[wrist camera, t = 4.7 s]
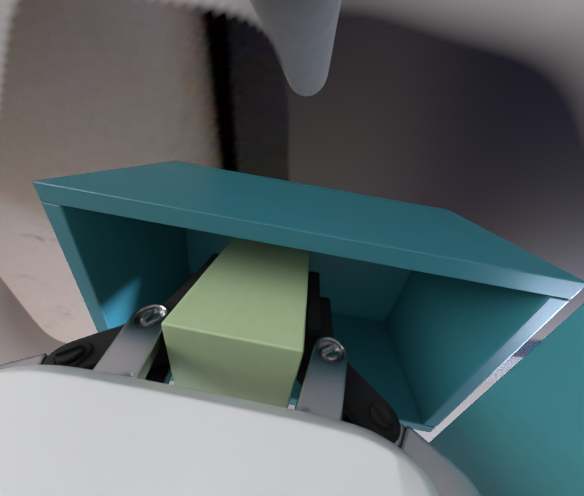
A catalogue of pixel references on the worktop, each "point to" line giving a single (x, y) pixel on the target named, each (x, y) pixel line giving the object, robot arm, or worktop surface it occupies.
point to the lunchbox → (318, 269)
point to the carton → (242, 324)
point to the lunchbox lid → (527, 423)
